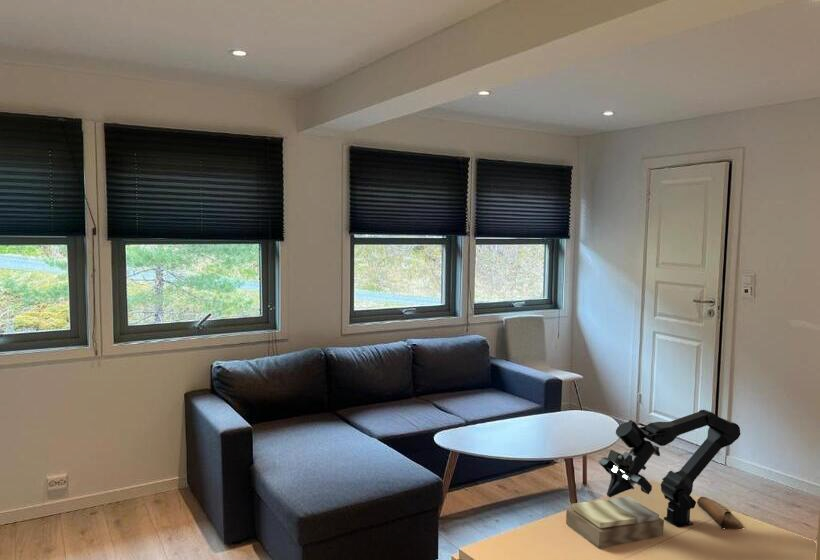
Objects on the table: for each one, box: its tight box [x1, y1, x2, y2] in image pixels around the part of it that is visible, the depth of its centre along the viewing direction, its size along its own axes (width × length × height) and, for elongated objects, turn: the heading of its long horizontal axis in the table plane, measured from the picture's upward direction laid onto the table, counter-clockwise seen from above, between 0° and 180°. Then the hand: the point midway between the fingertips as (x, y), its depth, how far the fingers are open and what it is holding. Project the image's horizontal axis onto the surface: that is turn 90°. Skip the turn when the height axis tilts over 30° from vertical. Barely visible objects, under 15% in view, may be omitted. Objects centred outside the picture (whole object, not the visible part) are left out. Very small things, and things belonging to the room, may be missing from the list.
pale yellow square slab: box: [570, 499, 636, 528], centre depth 183 cm, size 13×14×2 cm
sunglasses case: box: [696, 496, 745, 530], centre depth 196 cm, size 18×7×7 cm, turn 177°
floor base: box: [565, 496, 665, 550], centre depth 185 cm, size 24×16×6 cm, turn 111°
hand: (608, 496), depth 183 cm, fingers closed
